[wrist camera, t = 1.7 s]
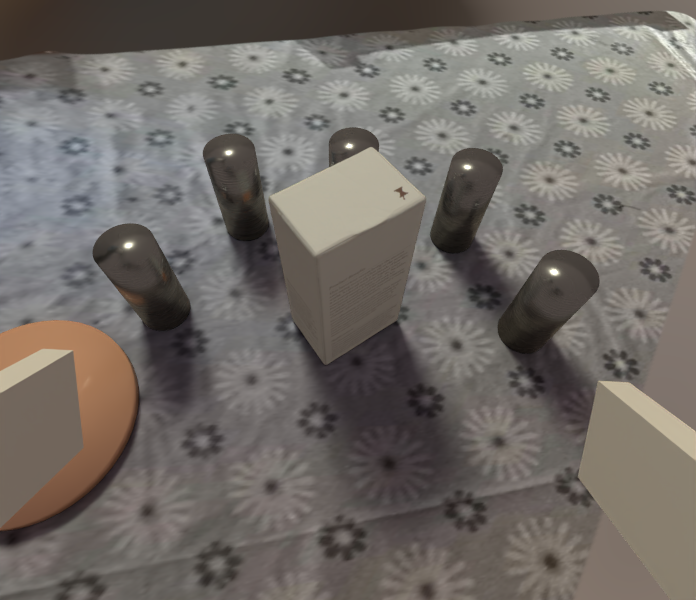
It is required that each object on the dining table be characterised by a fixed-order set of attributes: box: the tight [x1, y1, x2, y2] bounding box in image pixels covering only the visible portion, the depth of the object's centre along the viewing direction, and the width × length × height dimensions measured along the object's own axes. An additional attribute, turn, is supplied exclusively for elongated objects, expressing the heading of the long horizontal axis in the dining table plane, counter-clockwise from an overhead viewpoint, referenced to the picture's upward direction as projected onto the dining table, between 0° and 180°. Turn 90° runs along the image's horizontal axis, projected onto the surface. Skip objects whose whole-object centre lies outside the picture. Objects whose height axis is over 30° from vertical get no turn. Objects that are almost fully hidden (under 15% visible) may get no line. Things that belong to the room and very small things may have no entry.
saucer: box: [0, 320, 139, 531], centre depth 26 cm, size 12×12×1 cm
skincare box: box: [269, 147, 426, 365], centre depth 25 cm, size 6×4×12 cm
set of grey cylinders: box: [93, 128, 599, 353], centre depth 28 cm, size 21×24×7 cm
